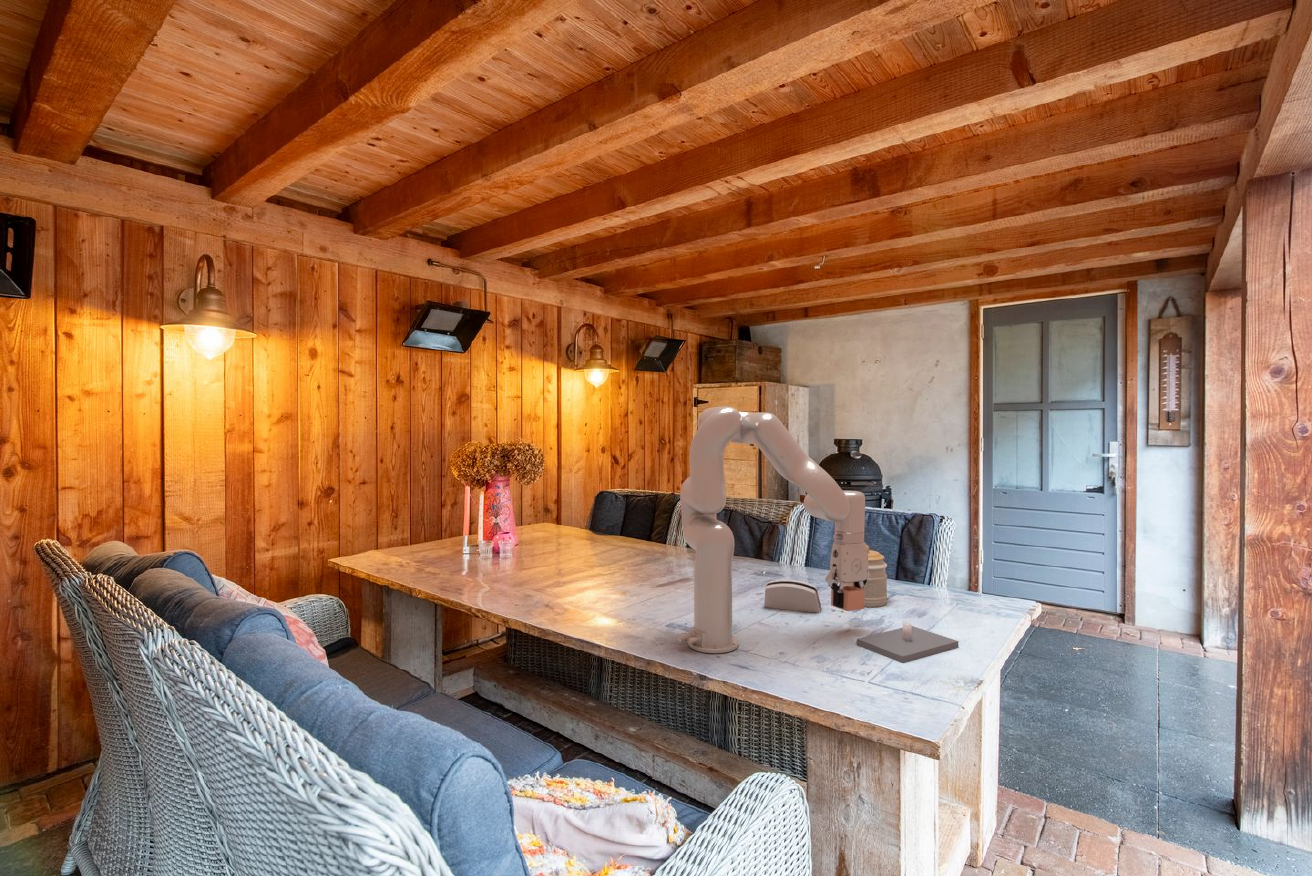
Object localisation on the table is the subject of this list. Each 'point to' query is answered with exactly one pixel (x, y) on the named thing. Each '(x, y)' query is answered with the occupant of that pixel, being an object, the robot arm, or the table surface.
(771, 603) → the half-round card holder
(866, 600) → the jar
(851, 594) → the collar
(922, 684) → the table surface
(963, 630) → the table surface
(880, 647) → the post plate
